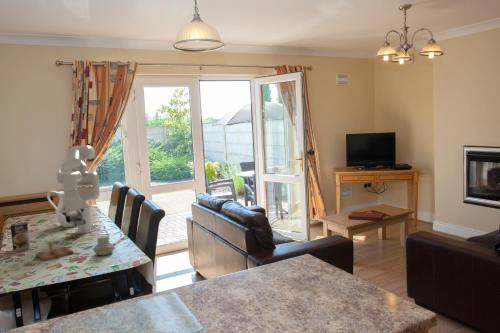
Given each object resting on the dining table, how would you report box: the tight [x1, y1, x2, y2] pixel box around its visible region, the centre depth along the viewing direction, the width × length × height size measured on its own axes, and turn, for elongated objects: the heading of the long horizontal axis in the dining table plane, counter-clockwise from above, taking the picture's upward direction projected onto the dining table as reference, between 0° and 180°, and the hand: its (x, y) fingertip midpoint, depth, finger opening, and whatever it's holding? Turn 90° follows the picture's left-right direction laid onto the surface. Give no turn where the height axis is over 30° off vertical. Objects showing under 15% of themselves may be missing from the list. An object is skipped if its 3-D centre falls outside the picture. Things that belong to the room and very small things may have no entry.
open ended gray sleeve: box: [67, 213, 86, 227], centre depth 240 cm, size 14×6×5 cm, turn 44°
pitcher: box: [46, 190, 76, 228], centre depth 295 cm, size 24×17×28 cm
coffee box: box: [10, 222, 31, 252], centre depth 241 cm, size 9×6×16 cm
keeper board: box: [35, 241, 74, 262], centre depth 226 cm, size 16×14×8 cm
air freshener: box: [93, 235, 115, 256], centre depth 223 cm, size 11×8×10 cm
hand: (74, 220), depth 243 cm, fingers closed on open ended gray sleeve, 6 cm apart
